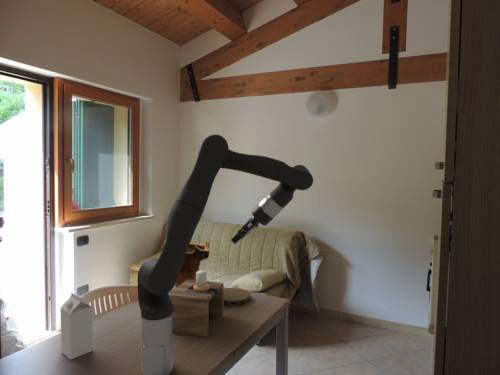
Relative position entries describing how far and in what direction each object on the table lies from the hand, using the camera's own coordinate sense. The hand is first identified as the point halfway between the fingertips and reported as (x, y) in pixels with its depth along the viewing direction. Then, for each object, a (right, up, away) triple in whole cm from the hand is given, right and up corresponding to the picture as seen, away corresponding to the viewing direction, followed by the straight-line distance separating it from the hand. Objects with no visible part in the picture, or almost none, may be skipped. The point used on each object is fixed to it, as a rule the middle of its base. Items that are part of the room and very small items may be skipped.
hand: (236, 239), depth 125 cm
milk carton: (-52, -35, -13) cm, 64 cm away
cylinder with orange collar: (-14, -30, +8) cm, 34 cm away
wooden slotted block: (-16, -34, +8) cm, 39 cm away
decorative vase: (-25, -33, +37) cm, 56 cm away
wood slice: (-3, -33, +33) cm, 47 cm away
